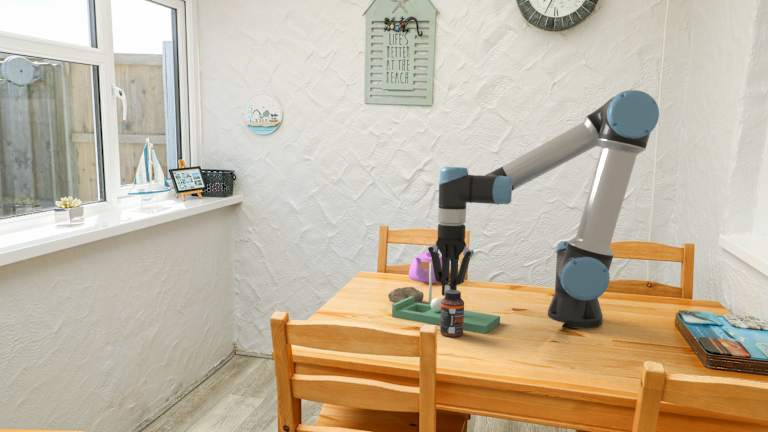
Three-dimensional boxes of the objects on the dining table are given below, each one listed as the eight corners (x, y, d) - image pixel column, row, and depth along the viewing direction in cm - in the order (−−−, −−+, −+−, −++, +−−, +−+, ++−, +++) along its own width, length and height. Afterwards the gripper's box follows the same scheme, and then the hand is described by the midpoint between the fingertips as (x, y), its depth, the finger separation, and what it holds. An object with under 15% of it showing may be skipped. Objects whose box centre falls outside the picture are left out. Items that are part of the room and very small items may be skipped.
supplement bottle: (457, 339, 148) (458, 295, 147) (436, 335, 151) (437, 292, 150) (466, 333, 153) (468, 290, 152) (446, 329, 156) (447, 287, 155)
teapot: (398, 285, 205) (398, 254, 204) (422, 274, 223) (422, 245, 221) (433, 290, 199) (434, 258, 197) (455, 279, 216) (456, 249, 215)
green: (499, 323, 162) (500, 310, 162) (485, 333, 153) (485, 320, 153) (410, 307, 177) (410, 296, 176) (392, 316, 167) (392, 304, 167)
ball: (436, 311, 168) (448, 308, 166) (430, 315, 164) (443, 311, 162) (432, 298, 168) (444, 294, 166) (426, 301, 165) (438, 297, 163)
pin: (436, 309, 175) (437, 262, 173) (432, 312, 172) (433, 264, 171) (422, 307, 177) (423, 260, 176) (417, 309, 175) (419, 262, 173)
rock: (384, 303, 180) (384, 288, 179) (408, 297, 188) (408, 283, 187) (403, 308, 175) (403, 293, 174) (426, 302, 183) (427, 288, 182)
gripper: (479, 224, 161) (475, 308, 164) (436, 220, 167) (433, 301, 170) (468, 227, 154) (465, 314, 157) (424, 222, 161) (421, 307, 164)
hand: (448, 307), depth 164 cm, fingers closed
